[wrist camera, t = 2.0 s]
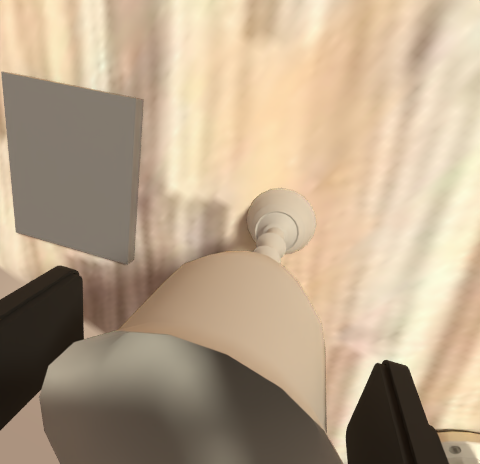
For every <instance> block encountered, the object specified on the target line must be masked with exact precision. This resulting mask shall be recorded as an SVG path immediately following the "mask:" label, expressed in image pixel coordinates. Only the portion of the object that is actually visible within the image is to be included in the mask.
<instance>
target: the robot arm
mask: <svg viewBox="0 0 480 464" xmlns="http://www.w3.org/2000/svg"><path fill="white" fill-rule="evenodd" d="M83 333H84V331H83V284H82V277H81V276H79V273H78V271H76V270H74V269H70V268H67V267H64V266H57V267H55V268H53V269H51V270H50V271H48V272H46V273H44V274H43V275H41V276H39V277H38V278H36V279H34V280H33V281H31V282H29V283H28V284H26V285H24V286H23V287H21V288H19V289H18V290H16V291H14V292H13V293H11V294H9V295H8V296H6V297H4V298H2V299H1V300H0V430H1V429H2V428H3V427H4V426H5V425H6V424H7V423H8V422H9V421H10V420H11V419H12V418H13V417H14V416H15V415H16V414H17V413H18V412H19V411H20V410H21V409H22V408H23V407H24V406H25V405H26V404H27V403H28V402H29V401H30V400H31V399H32V398H33V397H34V396H35V395H36V394H37V393H38V392H39V391H40V390H41V389H42V386H43V383H44V379H45V376H46V373H47V370H48V366H49V365H50V364H51V363H52V362H53V361H54V360H55V359H57V358H58V357H59V356H60V355H61V354H62V353H63V352H64V351H65V350H66V349H67V348H68V347H70V346H71V345H72V344H73V343H74V342H77V341H80V340H84V334H83ZM346 447H347V459H348V464H480V434H476V433H470V432H454V431H452V432H438V433H437V432H436V430H435V429H434V428H433V427H432V426H430V425H429V424H428V421H427V418H426V415H425V413H424V410H423V407H422V404H421V401H420V399H419V396H418V393H417V390H416V387H415V385H414V382H413V379H412V376H411V373H410V371H409V369H408V367H407V366H405V365H402V364H398V363H395V362H391V361H388V360H384V361H383V362H382V364H379V363H376V364H375V366H374V368H373V370H372V372H371V375H370V377H369V379H368V381H367V384H366V386H365V388H364V390H363V393H362V395H361V397H360V399H359V402H358V404H357V406H356V408H355V411H354V413H353V415H352V417H351V420H350V422H349V424H348V427H347V431H346Z"/></svg>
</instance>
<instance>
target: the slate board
mask: <svg viewBox="0 0 480 464" xmlns="http://www.w3.org/2000/svg"><path fill="white" fill-rule="evenodd" d="M1 73H2V84H3V95H4V106H5V117H6V128H7V139H8V150H9V161H10V172H11V183H12V194H13V205H14V216H15V227H16V232H17V233H21V234H24V235H28V236H31V237H34V238H38V239H41V240H45V241H48V242H52V243H55V244H58V245H62V246H65V247H69V248H72V249H76V250H79V251H82V252H86V253H89V254H93V255H96V256H100V257H103V258H106V259H110V260H113V261H117V262H120V263H124V264H127V265H128V264H129V263H130V262H132V261H133V260H134V250H135V233H136V217H137V200H138V183H139V167H140V150H141V133H142V116H143V100H144V99H139V98H134V97H129V96H124V95H119V94H114V93H109V92H104V91H99V90H94V89H89V88H84V87H79V86H74V85H69V84H64V83H59V82H54V81H49V80H44V79H39V78H34V77H29V76H24V75H19V74H14V73H7V72H1Z"/></svg>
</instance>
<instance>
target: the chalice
mask: <svg viewBox="0 0 480 464" xmlns="http://www.w3.org/2000/svg"><path fill="white" fill-rule="evenodd" d="M247 225H248V230H249V232H250V234H251V236H252V238H253V240H254V241H255V243H256V247H257V248H256V249H254V251H253V252H251V251H225V252H221V253H216V254H212V255H208V256H205V257H202V258H199V259H196V260H193V261H190V262H187V263H184V264H183V265H182V266H181V267H180V268H179V269H178V270H177V271H175V272H174V273H173V274H172V275H171V276H170V277H169V278H168V279H167V280H166V281H165V282H164V283H163V284H162V285H161V286H160V287H159V288H158V289H157V290H156V291H155V292H154V293H153V294H152V295H151V296H150V297H149V298H148V299H147V300H146V301H145V302H144V303H143V304H142V305H141V307H140V308H139V309H138V310H137V311H136V312H135V313H134V314H133V315H132V316H131V317H130V318H129V319H128V320H127V321H126V322H125V323H124V324H123V325H122V326H121V327H120V328H119V329H118V330H116V331H112V332H109V333H105V334H102V335H98V336H95V337H91V338H88V339H84V340H80V341H77V342H74V343H73V344H72V345H71V346H70V347H68V348H67V349H66V350H65V351H64V352H63V353H62V354H61V355H60V356H59V357H58V358H57V359H55V360H54V361H53V362H52V363H51V364H50V365H49V366H48V370H47V373H46V376H45V379H44V383H43V386H42V389H41V393H40V396H39V398H40V404H41V412H42V419H43V425H44V431H45V433H46V435H47V437H48V439H49V442H50V444H51V446H52V448H53V450H54V452H55V454H56V456H57V458H58V460H59V462H60V464H343V462H342V460H341V459H340V457H339V455H338V453H337V451H336V449H335V448H334V446H333V444H332V442H331V440H330V439H329V437H328V435H327V427H326V364H325V343H324V335H323V328H322V323H321V321H320V319H319V317H318V315H317V314H316V312H315V310H314V308H313V306H312V304H311V302H310V300H309V298H308V297H307V295H306V293H305V292H304V290H303V288H302V287H301V285H300V283H299V282H298V281H297V279H296V278H295V277H294V276H293V275H292V274H291V273H290V272H289V271H288V270H287V269H286V268H285V267H284V266H282V265H281V257H283V255H285V254H291V253H293V252H296V251H299V250H301V249H302V248H303V247H305V246H306V245H307V244H308V243H309V241H310V240H311V238H312V237H313V235H314V232H315V228H316V218H315V213H314V211H313V208H312V206H311V204H310V203H309V202H308V201H307V200H306V199H305V198H304V197H303V196H302V195H300V194H298V193H297V192H295V191H293V190H288V189H284V188H279V189H271V190H268V191H266V192H264V193H261V194H260V195H259V196H258V197H257V198H256V199H255V200H254V201H253V202H252V204H251V206H250V208H249V210H248V215H247Z"/></svg>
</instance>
